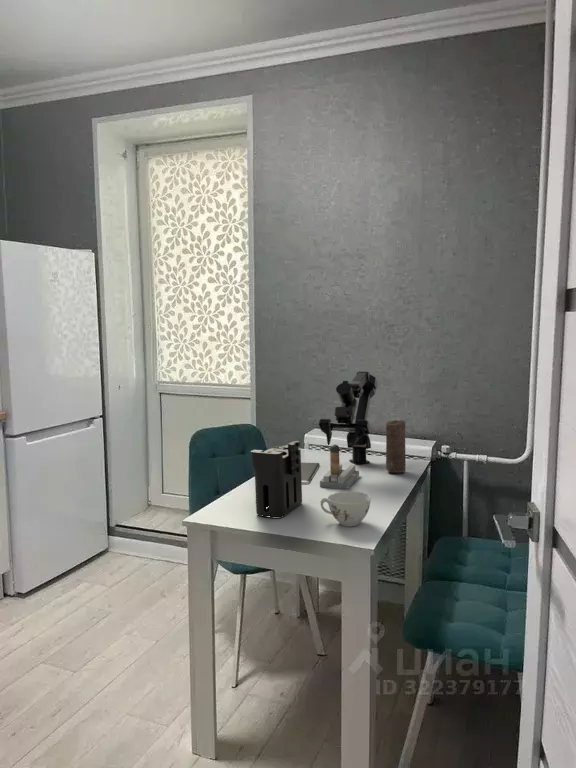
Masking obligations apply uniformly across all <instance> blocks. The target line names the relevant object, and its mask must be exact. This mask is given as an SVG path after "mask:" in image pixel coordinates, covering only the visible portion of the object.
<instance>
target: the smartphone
mask: <svg viewBox="0 0 576 768" xmlns="http://www.w3.org/2000/svg"><path fill="white" fill-rule="evenodd" d="M319 467H320V462H307V461H306V462H305V461H304V462H303V461H301V480H302V485H309V484H310V483H311V481H312V480H313V477H314V476H315V474H316V473H317V471H318V469H319ZM311 479H312V480H311Z"/></svg>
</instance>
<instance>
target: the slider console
mask: <svg viewBox="0 0 576 768" xmlns="http://www.w3.org/2000/svg"><path fill="white" fill-rule="evenodd" d="M339 464H340V463H339ZM359 477H360V470H356V464H350V465H348V467H347V468H346V469H343V464H340V475H339V476H338V481H337V482H334V481H331V469H330V470H329V471H327V472H326V473H325V474H324V475H323V477H322V479H320V481H319V488H329V489H331V488H332V489H342V490H343V489H344V490H348V489H349V487H350V486H351V485H353V484H354V482H355V481H356V480H357V479H358V478H359Z"/></svg>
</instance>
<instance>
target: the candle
mask: <svg viewBox="0 0 576 768" xmlns="http://www.w3.org/2000/svg"><path fill="white" fill-rule="evenodd" d="M385 423H386V424H385V429H386V430H385V431H386V432H385V437H386V438H385V440H386V443H385V444H386V445H385V447H386V448H385V450H386V452H385V455H386V456H385V459H386V460H385V470H386V471H387V472H389V473H391V474H397V473H402V472H406V420H404V419H398V420H397V419H396V420H395V419H394V420H389V421H386V422H385Z"/></svg>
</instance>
